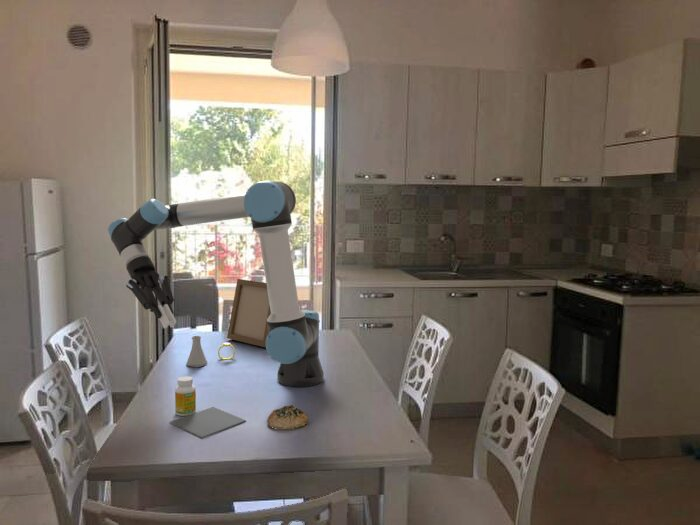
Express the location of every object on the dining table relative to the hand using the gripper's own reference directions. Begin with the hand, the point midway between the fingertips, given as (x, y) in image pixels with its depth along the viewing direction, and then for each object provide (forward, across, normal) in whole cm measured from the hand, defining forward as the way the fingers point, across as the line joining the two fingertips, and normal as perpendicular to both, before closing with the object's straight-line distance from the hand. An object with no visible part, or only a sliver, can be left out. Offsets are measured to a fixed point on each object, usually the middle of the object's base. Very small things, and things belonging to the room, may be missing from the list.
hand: (170, 325), depth 164 cm
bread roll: (+43, -11, +11) cm, 45 cm away
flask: (0, -25, -31) cm, 40 cm away
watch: (+2, -36, -30) cm, 46 cm away
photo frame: (-5, -60, -36) cm, 70 cm away
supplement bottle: (+24, +4, -7) cm, 26 cm away
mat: (+31, +4, 0) cm, 31 cm away
